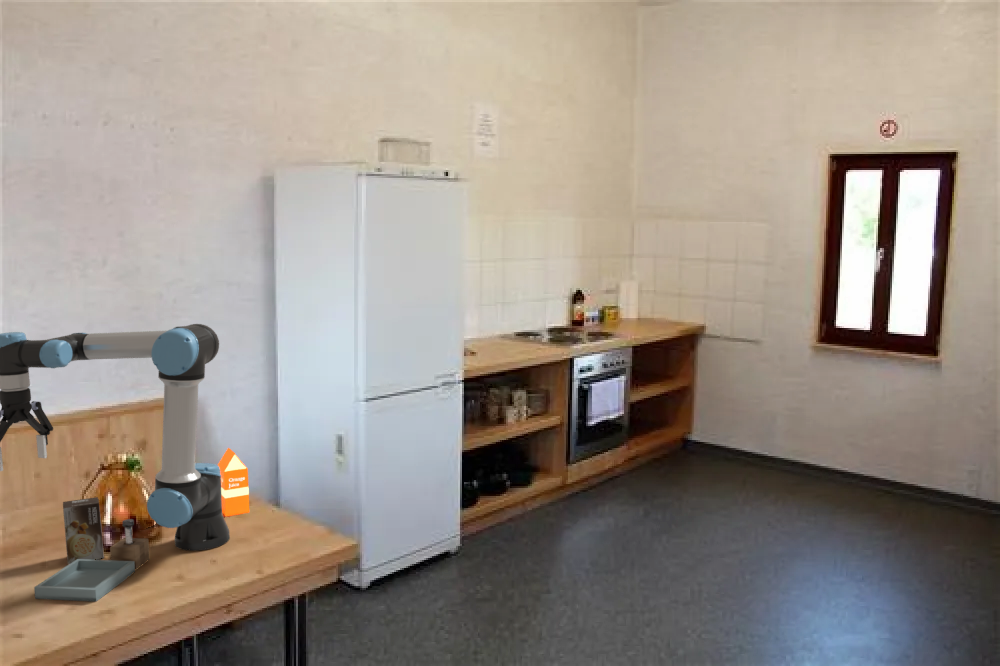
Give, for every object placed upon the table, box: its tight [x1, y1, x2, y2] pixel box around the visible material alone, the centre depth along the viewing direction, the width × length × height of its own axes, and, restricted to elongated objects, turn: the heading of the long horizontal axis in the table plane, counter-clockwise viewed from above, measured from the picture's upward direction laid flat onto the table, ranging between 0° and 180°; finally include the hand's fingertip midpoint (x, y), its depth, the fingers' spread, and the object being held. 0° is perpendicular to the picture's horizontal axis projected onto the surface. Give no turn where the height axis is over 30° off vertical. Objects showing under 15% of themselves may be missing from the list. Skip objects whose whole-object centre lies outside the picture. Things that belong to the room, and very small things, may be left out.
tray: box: [33, 559, 136, 602], centre depth 218 cm, size 16×18×3 cm
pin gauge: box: [122, 518, 135, 545], centre depth 231 cm, size 3×3×12 cm
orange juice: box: [217, 447, 250, 517], centre depth 274 cm, size 8×9×20 cm
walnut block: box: [109, 537, 150, 570], centre depth 232 cm, size 7×7×6 cm
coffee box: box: [62, 496, 105, 565], centre depth 235 cm, size 9×6×16 cm
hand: (21, 464), depth 236 cm, fingers open, 13 cm apart
